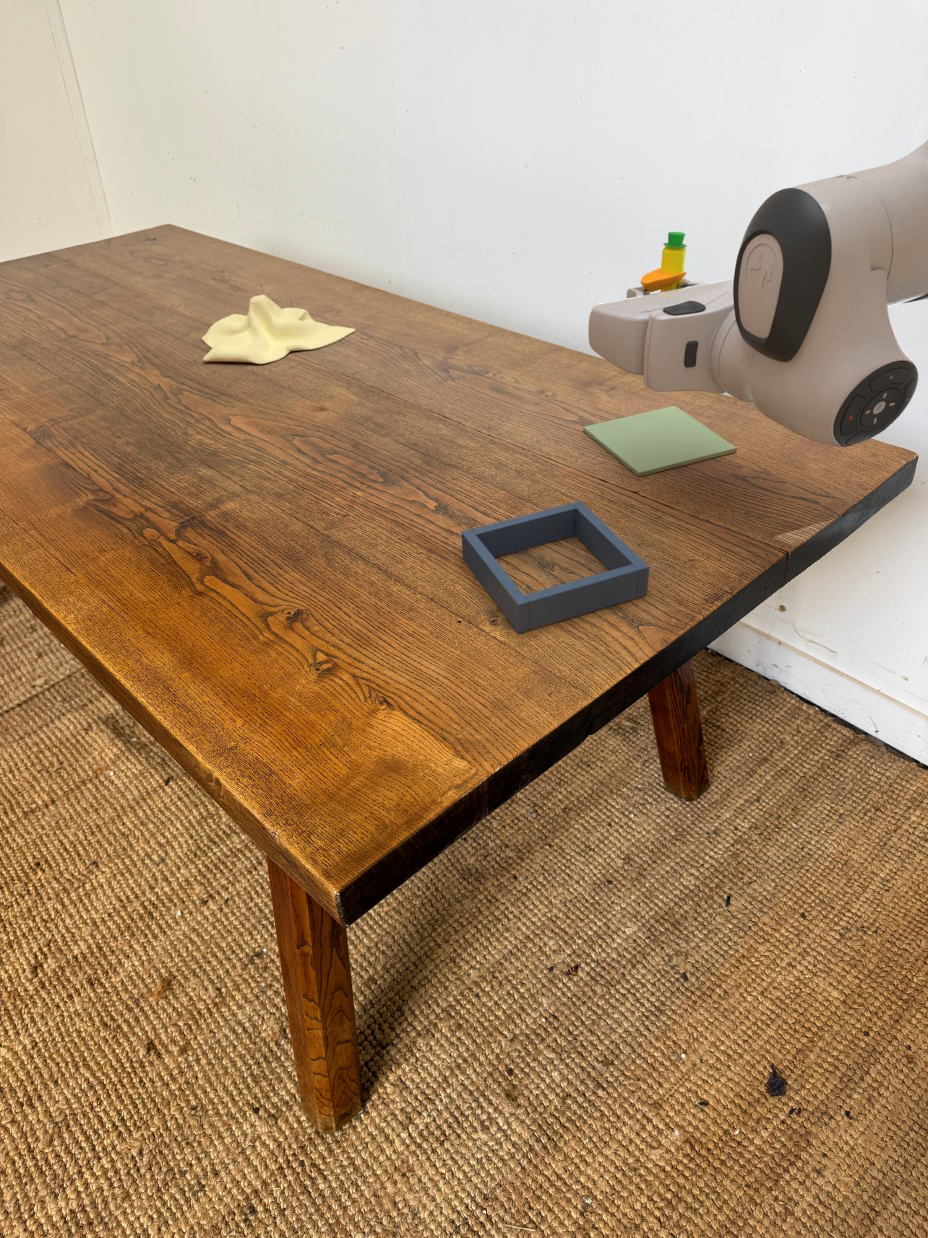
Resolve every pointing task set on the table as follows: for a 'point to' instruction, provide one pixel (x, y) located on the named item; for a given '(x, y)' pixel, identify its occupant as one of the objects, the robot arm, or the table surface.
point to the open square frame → (565, 599)
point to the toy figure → (668, 266)
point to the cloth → (267, 333)
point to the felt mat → (658, 440)
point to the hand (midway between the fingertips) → (653, 291)
